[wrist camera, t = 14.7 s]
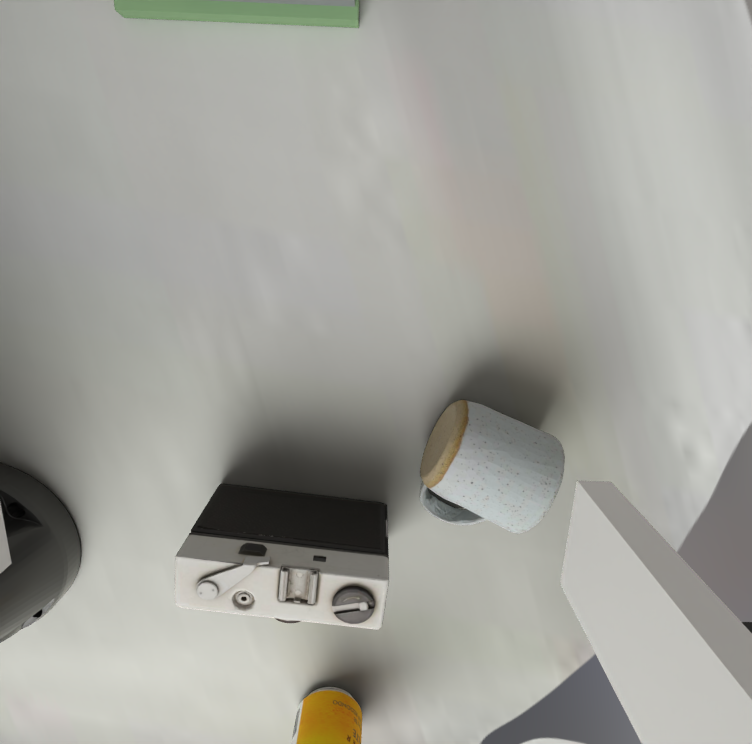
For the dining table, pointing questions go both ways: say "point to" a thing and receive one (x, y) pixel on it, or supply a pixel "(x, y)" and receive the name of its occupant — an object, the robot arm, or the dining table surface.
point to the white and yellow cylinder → (328, 718)
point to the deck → (247, 11)
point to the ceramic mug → (490, 468)
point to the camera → (287, 558)
